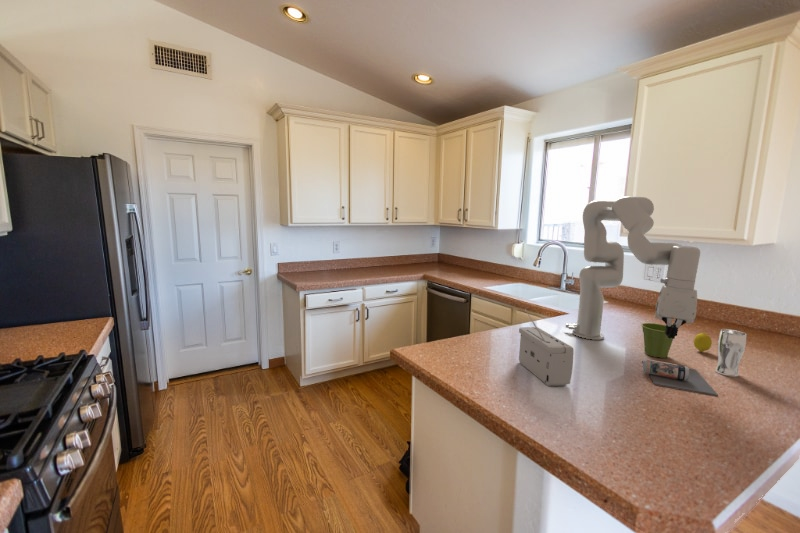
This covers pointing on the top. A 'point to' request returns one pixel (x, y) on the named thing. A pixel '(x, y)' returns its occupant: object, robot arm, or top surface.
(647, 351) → the plant pot
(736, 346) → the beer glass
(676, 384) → the rubber mat
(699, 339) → the lemon
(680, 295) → the robot arm
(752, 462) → the top surface
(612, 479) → the top surface
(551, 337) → the stereo radio cassette player
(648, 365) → the beer can
